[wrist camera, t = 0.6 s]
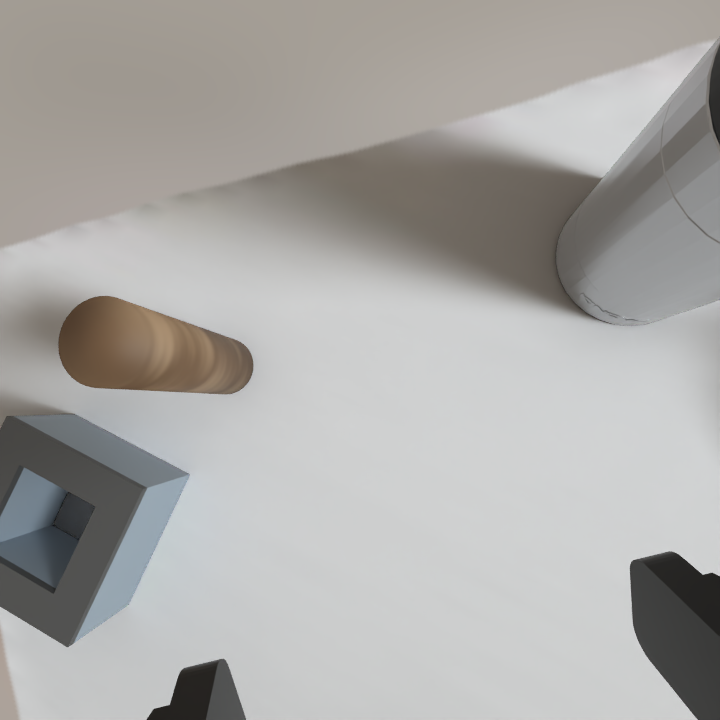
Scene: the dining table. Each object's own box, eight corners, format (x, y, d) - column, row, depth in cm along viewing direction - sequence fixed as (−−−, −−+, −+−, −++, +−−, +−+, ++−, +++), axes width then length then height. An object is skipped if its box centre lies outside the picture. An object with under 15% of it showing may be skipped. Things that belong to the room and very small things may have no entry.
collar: (74, 414, 36) (6, 416, 30) (189, 474, 34) (142, 489, 28) (14, 538, 35) (-67, 566, 30) (128, 604, 34) (67, 647, 28)
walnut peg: (214, 329, 35) (83, 281, 21) (262, 352, 35) (160, 318, 21) (190, 380, 35) (43, 364, 21) (238, 403, 34) (119, 403, 21)
